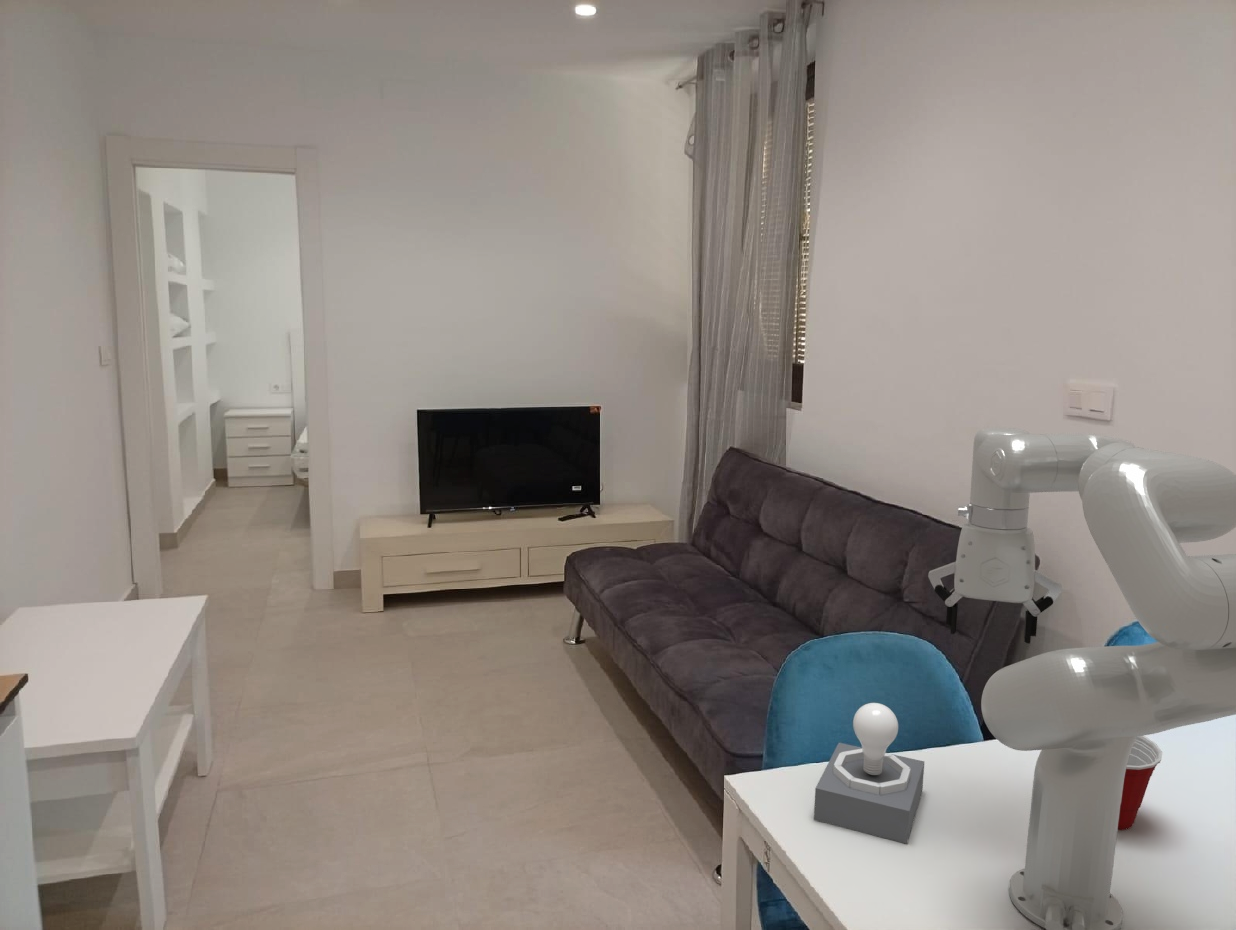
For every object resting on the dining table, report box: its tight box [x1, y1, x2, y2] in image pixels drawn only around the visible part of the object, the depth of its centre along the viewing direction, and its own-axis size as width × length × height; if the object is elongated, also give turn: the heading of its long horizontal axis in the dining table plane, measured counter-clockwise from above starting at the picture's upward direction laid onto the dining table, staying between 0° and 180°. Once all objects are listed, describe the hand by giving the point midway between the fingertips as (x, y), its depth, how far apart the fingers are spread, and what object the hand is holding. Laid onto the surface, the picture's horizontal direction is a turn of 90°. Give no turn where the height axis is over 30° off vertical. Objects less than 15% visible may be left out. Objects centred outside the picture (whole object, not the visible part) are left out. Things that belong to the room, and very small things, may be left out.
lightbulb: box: [852, 702, 899, 776], centre depth 131 cm, size 6×6×11 cm
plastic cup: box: [1117, 735, 1163, 831], centre depth 128 cm, size 11×11×12 cm
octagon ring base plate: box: [813, 742, 925, 845], centre depth 133 cm, size 18×13×6 cm
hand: (989, 635), depth 126 cm, fingers open, 9 cm apart
